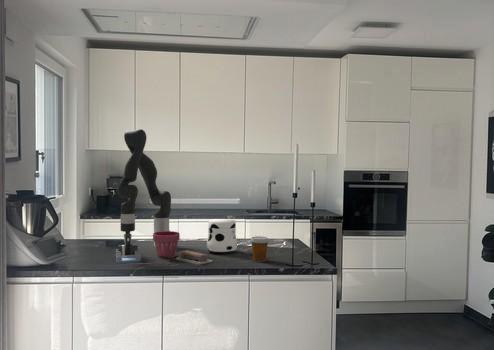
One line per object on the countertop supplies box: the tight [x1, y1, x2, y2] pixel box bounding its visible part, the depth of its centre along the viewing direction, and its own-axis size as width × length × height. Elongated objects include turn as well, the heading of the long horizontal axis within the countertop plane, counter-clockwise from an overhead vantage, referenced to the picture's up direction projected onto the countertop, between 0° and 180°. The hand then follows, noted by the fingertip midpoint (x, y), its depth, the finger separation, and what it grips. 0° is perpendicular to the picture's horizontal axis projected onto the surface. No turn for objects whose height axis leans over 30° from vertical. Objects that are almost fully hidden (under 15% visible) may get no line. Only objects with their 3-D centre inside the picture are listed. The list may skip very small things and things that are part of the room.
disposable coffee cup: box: [250, 235, 270, 263], centre depth 247 cm, size 10×10×12 cm
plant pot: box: [152, 230, 181, 259], centre depth 254 cm, size 14×14×13 cm
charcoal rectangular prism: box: [117, 243, 139, 256], centre depth 253 cm, size 10×3×5 cm, turn 107°
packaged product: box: [175, 249, 214, 266], centre depth 245 cm, size 18×5×10 cm
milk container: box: [206, 218, 238, 254], centre depth 268 cm, size 17×17×18 cm
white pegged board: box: [115, 247, 142, 265], centre depth 247 cm, size 12×22×4 cm, turn 17°
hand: (127, 253), depth 253 cm, fingers closed on charcoal rectangular prism, 2 cm apart
